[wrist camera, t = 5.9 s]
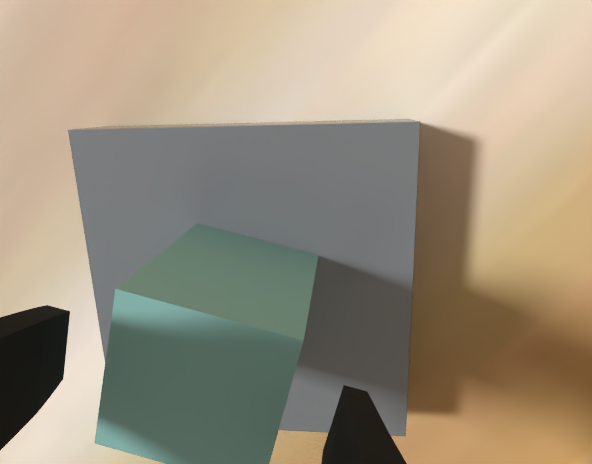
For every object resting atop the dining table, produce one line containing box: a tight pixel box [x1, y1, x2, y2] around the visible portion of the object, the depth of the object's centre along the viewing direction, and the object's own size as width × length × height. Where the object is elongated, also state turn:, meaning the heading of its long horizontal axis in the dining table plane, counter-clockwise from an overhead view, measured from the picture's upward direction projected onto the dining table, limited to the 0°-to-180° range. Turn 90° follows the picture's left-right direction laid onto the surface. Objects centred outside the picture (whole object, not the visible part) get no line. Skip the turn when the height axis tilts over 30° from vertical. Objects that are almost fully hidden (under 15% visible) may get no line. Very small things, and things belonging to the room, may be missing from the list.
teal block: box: [95, 223, 318, 464], centre depth 14 cm, size 4×4×6 cm
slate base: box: [68, 119, 420, 436], centre depth 18 cm, size 12×12×2 cm
